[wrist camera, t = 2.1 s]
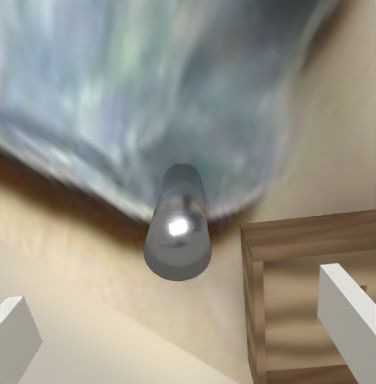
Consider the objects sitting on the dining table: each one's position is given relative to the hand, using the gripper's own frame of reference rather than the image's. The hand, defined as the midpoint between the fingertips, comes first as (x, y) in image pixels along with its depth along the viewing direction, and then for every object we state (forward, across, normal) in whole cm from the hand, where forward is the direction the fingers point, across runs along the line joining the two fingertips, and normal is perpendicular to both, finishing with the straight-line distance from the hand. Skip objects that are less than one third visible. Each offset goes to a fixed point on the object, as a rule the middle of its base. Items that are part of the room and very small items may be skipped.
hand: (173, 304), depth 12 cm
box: (+18, +17, -17) cm, 30 cm away
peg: (+18, 0, 0) cm, 18 cm away
